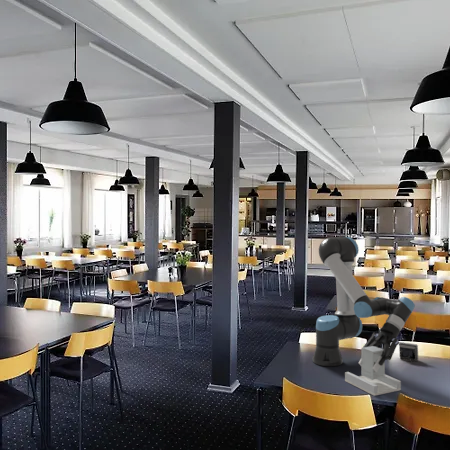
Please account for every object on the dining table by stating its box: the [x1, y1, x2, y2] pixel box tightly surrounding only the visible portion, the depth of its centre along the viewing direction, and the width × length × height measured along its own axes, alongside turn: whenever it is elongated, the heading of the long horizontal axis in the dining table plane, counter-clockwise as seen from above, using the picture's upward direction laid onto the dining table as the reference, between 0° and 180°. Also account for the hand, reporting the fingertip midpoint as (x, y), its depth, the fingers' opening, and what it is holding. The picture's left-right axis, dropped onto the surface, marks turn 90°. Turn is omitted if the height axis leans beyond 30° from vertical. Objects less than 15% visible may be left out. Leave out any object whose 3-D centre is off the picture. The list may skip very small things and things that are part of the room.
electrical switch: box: [398, 341, 419, 363], centre depth 241 cm, size 9×5×9 cm, turn 57°
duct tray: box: [344, 371, 402, 397], centre depth 206 cm, size 19×15×4 cm
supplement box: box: [360, 346, 386, 380], centre depth 205 cm, size 7×7×13 cm
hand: (367, 367), depth 203 cm, fingers closed on supplement box, 7 cm apart
